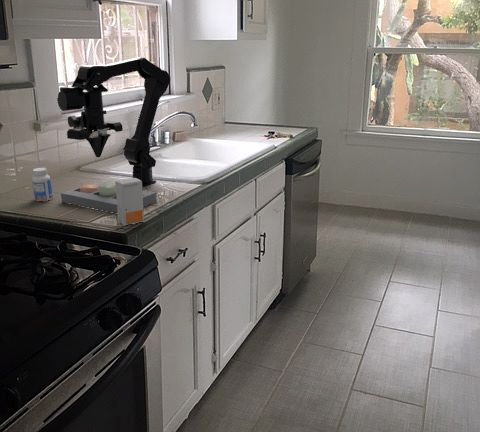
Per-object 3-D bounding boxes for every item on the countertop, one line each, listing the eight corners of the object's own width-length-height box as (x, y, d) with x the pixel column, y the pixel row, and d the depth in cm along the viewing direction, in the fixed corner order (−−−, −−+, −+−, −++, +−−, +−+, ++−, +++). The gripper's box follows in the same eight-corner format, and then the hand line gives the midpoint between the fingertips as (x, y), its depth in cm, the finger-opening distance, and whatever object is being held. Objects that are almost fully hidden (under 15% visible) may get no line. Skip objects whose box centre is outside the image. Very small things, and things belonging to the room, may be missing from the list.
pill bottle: (47, 195, 171) (43, 166, 168) (56, 198, 168) (52, 168, 164) (31, 199, 167) (27, 169, 164) (40, 203, 164) (36, 172, 160)
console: (97, 190, 176) (96, 181, 175) (156, 201, 164) (155, 192, 163) (61, 202, 164) (60, 193, 163) (123, 215, 152) (122, 205, 151)
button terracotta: (90, 193, 171) (89, 183, 170) (103, 195, 169) (102, 185, 168) (77, 197, 167) (76, 187, 166) (90, 200, 164) (89, 190, 163)
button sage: (108, 193, 167) (107, 183, 166) (121, 195, 164) (121, 185, 163) (95, 197, 163) (94, 187, 161) (109, 200, 160) (108, 190, 159)
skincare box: (124, 227, 143) (121, 184, 139) (118, 222, 146) (114, 180, 142) (145, 222, 147) (142, 180, 143) (138, 218, 150) (135, 177, 146)
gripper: (96, 102, 176) (100, 149, 181) (51, 109, 160) (57, 160, 166) (121, 104, 170) (125, 152, 175) (77, 112, 155) (83, 164, 160)
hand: (98, 157), depth 169 cm, fingers closed
